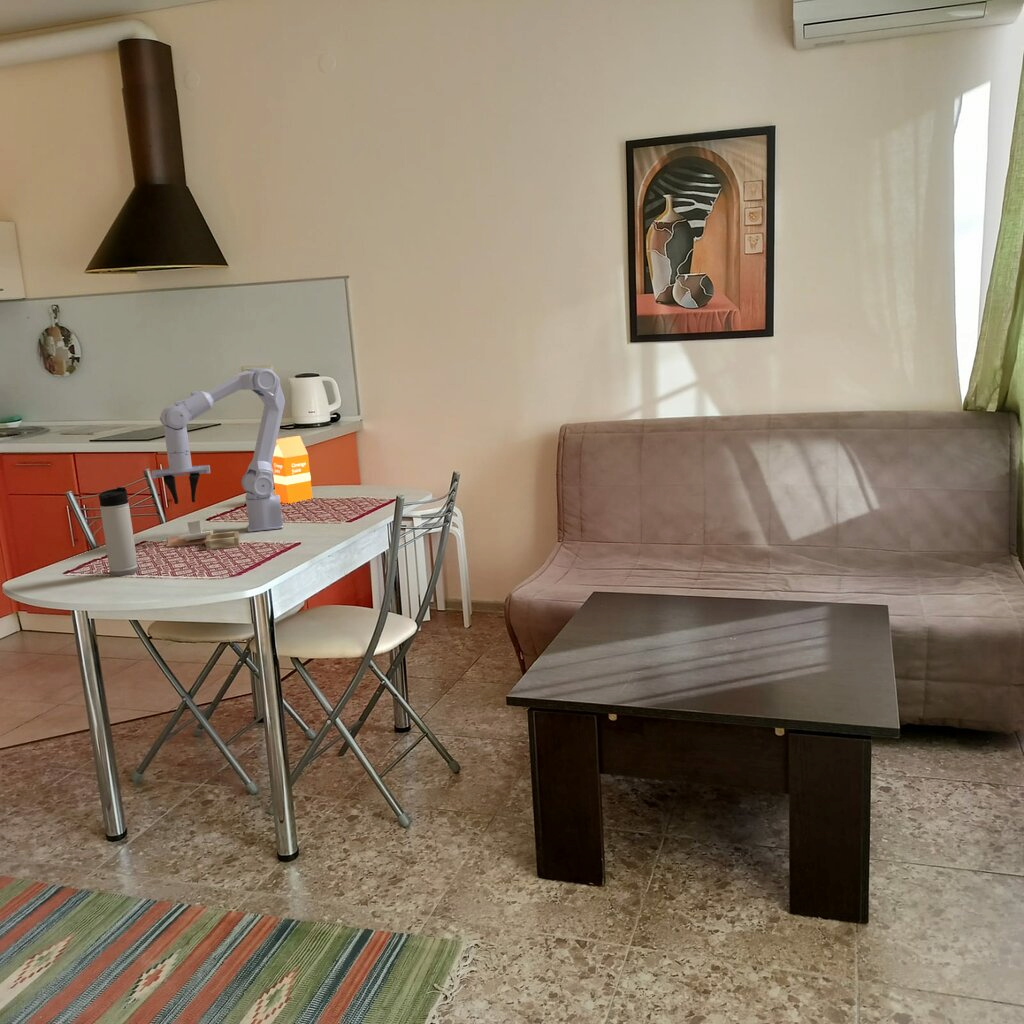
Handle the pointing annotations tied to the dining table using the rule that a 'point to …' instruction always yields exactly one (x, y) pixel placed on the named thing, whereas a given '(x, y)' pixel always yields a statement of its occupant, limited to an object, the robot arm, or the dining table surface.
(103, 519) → the travel mug
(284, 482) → the orange juice
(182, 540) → the mat
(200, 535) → the lid
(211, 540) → the box
